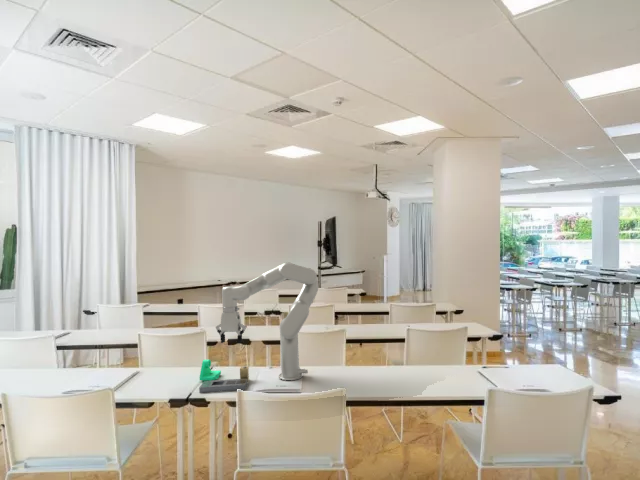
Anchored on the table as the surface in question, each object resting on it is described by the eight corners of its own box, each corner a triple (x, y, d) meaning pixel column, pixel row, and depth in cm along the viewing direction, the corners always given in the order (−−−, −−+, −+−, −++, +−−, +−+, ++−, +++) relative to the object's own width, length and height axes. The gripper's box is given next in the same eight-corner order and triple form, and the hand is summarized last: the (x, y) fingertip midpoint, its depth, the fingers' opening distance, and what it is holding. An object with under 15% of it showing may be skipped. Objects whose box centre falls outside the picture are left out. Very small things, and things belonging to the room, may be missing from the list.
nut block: (249, 379, 205) (248, 366, 206) (248, 382, 201) (247, 368, 202) (241, 380, 205) (240, 366, 205) (240, 382, 201) (239, 368, 201)
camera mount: (213, 382, 204) (213, 362, 204) (199, 382, 204) (199, 362, 205) (221, 375, 216) (221, 356, 216) (208, 375, 216) (207, 356, 217)
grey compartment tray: (247, 383, 199) (247, 378, 199) (245, 390, 189) (244, 384, 190) (204, 385, 198) (204, 380, 198) (199, 392, 188) (199, 387, 188)
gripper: (248, 308, 206) (249, 341, 206) (219, 309, 211) (220, 340, 210) (241, 310, 199) (243, 344, 198) (211, 311, 204) (213, 344, 203)
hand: (231, 342), depth 204 cm, fingers open, 9 cm apart
